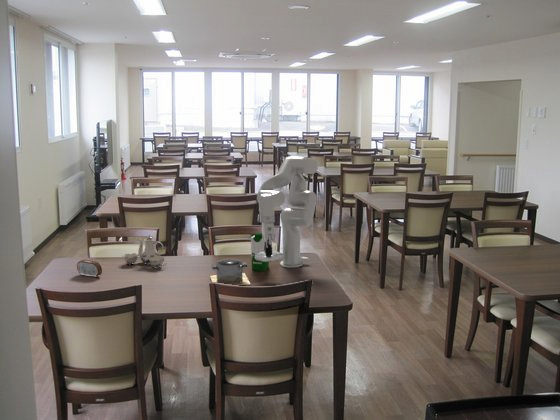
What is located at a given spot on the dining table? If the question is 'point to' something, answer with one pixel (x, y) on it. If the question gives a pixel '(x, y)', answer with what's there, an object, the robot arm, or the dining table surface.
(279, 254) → the lid
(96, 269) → the tin
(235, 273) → the pot
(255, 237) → the soya milk
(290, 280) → the dining table surface
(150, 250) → the chinaware
